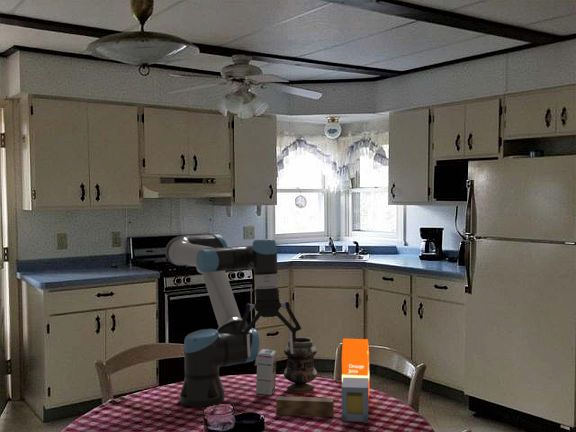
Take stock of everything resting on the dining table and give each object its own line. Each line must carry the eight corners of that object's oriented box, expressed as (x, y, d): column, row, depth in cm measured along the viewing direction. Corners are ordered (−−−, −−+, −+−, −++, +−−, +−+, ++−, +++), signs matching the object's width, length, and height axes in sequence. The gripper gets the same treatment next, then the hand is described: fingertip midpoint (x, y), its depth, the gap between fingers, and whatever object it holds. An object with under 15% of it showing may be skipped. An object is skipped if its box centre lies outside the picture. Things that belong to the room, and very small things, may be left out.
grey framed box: (341, 420, 190) (341, 387, 190) (343, 409, 200) (343, 377, 199) (368, 421, 189) (367, 387, 188) (368, 410, 199) (368, 378, 198)
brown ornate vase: (318, 394, 215) (317, 343, 215) (283, 394, 216) (282, 343, 215) (316, 383, 227) (316, 335, 227) (284, 384, 228) (283, 335, 227)
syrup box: (271, 395, 215) (273, 354, 214) (255, 393, 216) (257, 352, 215) (275, 389, 220) (277, 350, 219) (259, 387, 222) (261, 348, 220)
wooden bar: (276, 415, 196) (276, 399, 196) (278, 411, 200) (277, 396, 199) (333, 417, 194) (332, 401, 193) (333, 413, 197) (333, 398, 197)
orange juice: (344, 392, 217) (343, 335, 217) (369, 393, 216) (369, 336, 215) (341, 399, 210) (341, 341, 209) (368, 401, 208) (367, 342, 207)
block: (347, 418, 192) (346, 396, 192) (347, 412, 197) (347, 391, 197) (363, 418, 191) (363, 396, 191) (363, 413, 196) (363, 391, 196)
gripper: (227, 290, 193) (230, 359, 192) (306, 285, 194) (310, 353, 193) (228, 289, 200) (231, 354, 199) (304, 284, 201) (308, 349, 200)
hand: (270, 354), depth 196 cm, fingers open, 13 cm apart
